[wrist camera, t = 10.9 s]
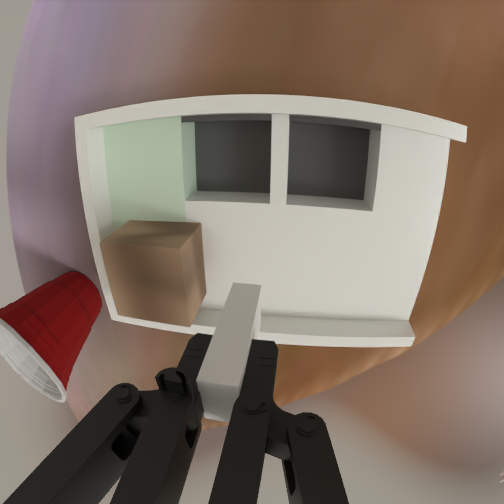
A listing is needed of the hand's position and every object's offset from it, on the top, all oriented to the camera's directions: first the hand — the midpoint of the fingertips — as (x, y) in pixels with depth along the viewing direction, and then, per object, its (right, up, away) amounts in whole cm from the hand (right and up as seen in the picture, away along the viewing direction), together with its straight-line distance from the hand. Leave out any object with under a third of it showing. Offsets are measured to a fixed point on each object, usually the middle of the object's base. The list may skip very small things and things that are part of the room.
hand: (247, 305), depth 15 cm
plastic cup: (-19, -2, +13) cm, 22 cm away
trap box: (+1, +6, +6) cm, 8 cm away
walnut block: (-6, +2, +5) cm, 8 cm away
